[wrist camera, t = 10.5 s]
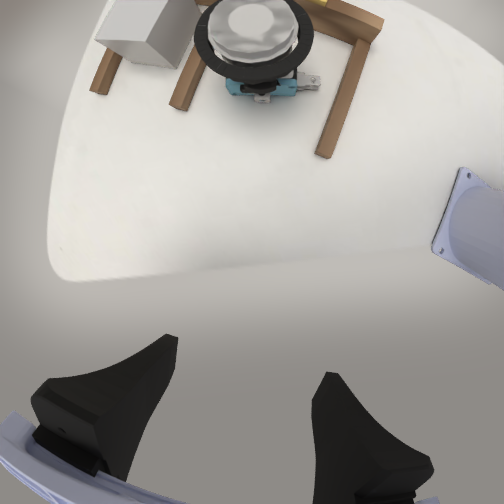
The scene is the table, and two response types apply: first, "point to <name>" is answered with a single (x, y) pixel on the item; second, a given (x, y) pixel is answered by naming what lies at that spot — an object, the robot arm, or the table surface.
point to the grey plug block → (150, 30)
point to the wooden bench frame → (323, 20)
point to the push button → (257, 46)
